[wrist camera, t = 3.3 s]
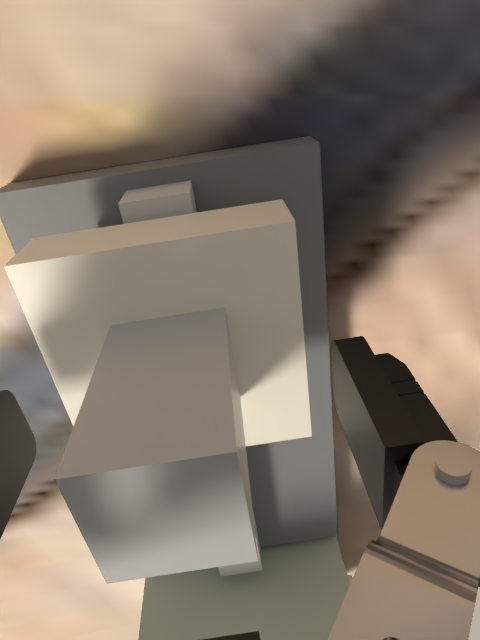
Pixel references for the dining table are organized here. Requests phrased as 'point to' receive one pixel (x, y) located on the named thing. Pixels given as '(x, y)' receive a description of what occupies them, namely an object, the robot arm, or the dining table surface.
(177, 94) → the dining table surface
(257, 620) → the end cabinet
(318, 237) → the rail board
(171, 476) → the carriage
